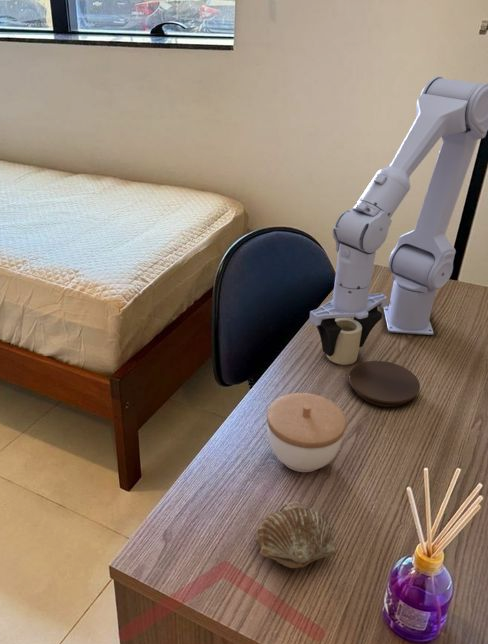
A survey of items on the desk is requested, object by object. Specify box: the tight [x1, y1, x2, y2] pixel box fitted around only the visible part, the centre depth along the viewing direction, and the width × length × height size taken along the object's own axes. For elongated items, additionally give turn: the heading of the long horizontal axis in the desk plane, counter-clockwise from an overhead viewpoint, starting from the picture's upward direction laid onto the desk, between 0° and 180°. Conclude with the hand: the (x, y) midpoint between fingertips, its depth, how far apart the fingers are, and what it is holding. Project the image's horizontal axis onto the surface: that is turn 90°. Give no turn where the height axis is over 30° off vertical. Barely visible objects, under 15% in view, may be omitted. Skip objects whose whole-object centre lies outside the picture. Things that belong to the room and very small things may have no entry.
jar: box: [326, 317, 362, 366], centre depth 106 cm, size 5×5×6 cm
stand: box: [348, 360, 421, 408], centre depth 99 cm, size 11×11×2 cm
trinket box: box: [266, 392, 347, 473], centre depth 84 cm, size 11×11×9 cm
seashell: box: [253, 501, 338, 569], centre depth 71 cm, size 9×7×8 cm
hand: (342, 348), depth 107 cm, fingers open, 6 cm apart
